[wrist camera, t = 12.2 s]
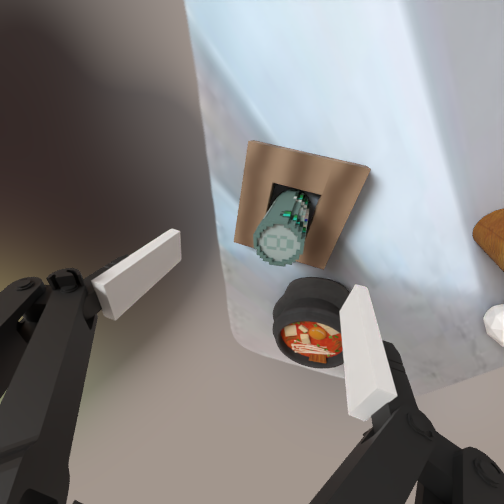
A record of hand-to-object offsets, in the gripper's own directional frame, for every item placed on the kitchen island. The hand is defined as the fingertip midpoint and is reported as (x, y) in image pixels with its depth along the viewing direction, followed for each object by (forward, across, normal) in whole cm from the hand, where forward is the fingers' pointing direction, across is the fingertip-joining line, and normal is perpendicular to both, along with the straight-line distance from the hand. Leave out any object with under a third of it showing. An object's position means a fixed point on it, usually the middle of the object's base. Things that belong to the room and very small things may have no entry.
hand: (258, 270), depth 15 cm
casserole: (+25, +12, -27) cm, 39 cm away
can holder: (+25, 0, -3) cm, 25 cm away
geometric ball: (+25, +40, -12) cm, 49 cm away
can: (+25, 0, -3) cm, 25 cm away
